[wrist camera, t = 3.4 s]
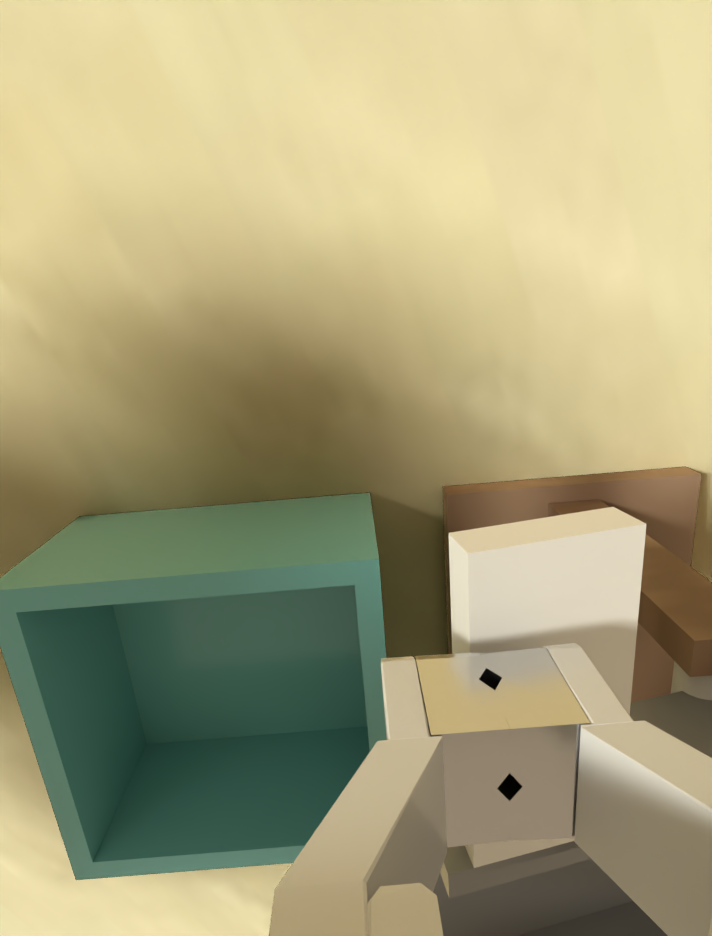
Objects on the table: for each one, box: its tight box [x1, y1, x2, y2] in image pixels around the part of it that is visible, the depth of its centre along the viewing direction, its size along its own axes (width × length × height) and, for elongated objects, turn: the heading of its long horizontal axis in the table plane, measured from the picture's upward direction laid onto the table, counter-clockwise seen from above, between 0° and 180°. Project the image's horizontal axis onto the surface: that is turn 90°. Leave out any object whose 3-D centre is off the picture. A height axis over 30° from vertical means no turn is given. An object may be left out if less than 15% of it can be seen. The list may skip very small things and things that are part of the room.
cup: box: [0, 493, 387, 880], centre depth 20 cm, size 12×12×6 cm
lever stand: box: [443, 467, 712, 702], centre depth 18 cm, size 10×12×10 cm
